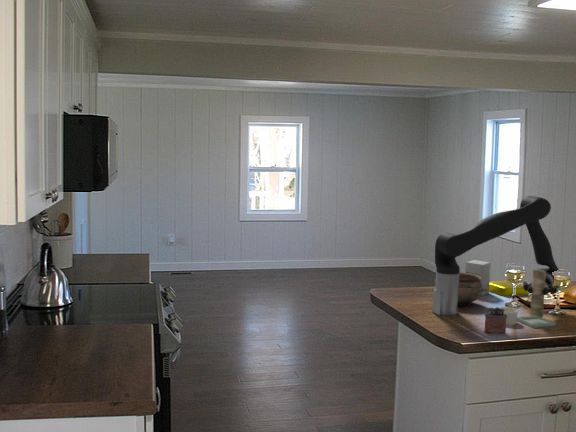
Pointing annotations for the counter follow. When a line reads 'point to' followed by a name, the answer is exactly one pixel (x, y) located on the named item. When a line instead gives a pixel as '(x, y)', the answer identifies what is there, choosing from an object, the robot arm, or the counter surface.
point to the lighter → (495, 321)
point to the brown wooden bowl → (469, 288)
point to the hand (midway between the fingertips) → (537, 291)
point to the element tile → (505, 288)
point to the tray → (536, 322)
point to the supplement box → (480, 272)
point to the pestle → (537, 293)
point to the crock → (510, 315)
